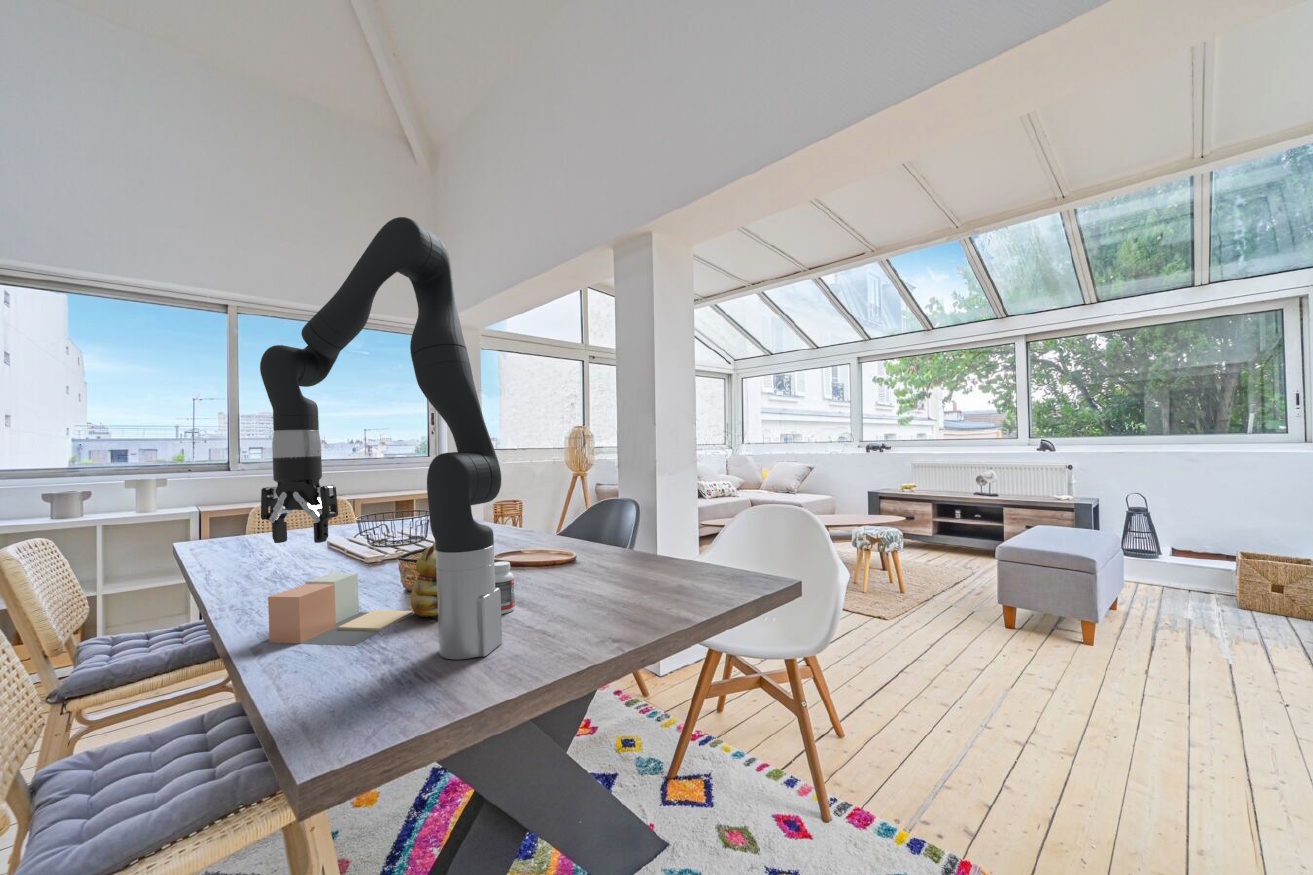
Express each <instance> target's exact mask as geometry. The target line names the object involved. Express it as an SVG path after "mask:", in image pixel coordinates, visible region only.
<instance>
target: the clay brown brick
mask: <svg viewBox="0 0 1313 875" xmlns="http://www.w3.org/2000/svg"><path fill="white" fill-rule="evenodd" d="M267 600H268V601H267V605H268V609H267V610H268V630H269V632H268V633H269V637H268V639H270V642H272V643H271V644H287V643H303V642H305V641H307V640H309V639H311V638H314V637H316V636H318V635H320V634H322V633H324V632H327V631H329V630H331V629H333V628H335V627H336V611H335V584H306V583H304V584H302V585H298V586H296V587H293V588H290V589H287V590H284V591H280V592H277V593H274V594H272V595H269V596H267Z"/></svg>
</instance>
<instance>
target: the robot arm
mask: <svg viewBox="0 0 1313 875" xmlns="http://www.w3.org/2000/svg"><path fill="white" fill-rule="evenodd" d="M396 273H398V274H400V275H402V276H405V277H406V278H408V279H409V281H410V283H411V285H412V287H413V291H414V294H415V298H416V303H417V309H418V312H417V313H418V314H417V319H416V323H415V325H414V328H413V331H412V333H411V338H410V342H409V343H410V347H409V348H410V357H411V358H410V359H411V362H412V365H413V371H414V375H415V379H416V381H417V382H416V383H417V385H418V387H419V389H420V391H421V393H423V395H424V397H425V398H426V399H427V401H428V402H429V403H430V405H431V406H432V407H433V408H434V410H435V411H436V412H437V413H438V415H439V416H440V417H441V419H443V420H444V422H445V423H446V425H447V426H448V428H449V430H450V432H451V435H452V437H453V440H454V443H455V447H456V451H454V452H443V453H440V454H438V455H436V456H435V457H433V459H432V460H431V462H430V464H429V466H428V470H427V474H426V476H427V477H426V492H427V494H426V495H427V502H428V514H429V525H430V530H431V534H432V536H433V538H434V542H435V543H434V544H436V567H437V568H436V571H437V599H438V619H437V620H438V623H437V625H438V626H437V627H438V644H439V646H438V648H439V655H440V657H442V658H444V659H449V660H466V659H473V658H478V657H487V656H488V655H489V654H490V653H492V652H493V651H494V650H495V649H497V647H499V646H500V645H501V644H503V629H502V628H503V625H502V623H503V622H502V614H501V593H500V588H495V565H494V563H495V545H494V544H495V543H494V542H495V541H494V540H495V538H494V531H493V528H492V527H490V526H488V525H485V524H480V523H479V522H477V521H476V520H475V519H474V516H473V511H472V506H476V505H482V504H486V503H490V502H492V501H493V500H494V499H496V498H497V497H498V495H499V494H500V490H501V487H502V471H501V465H500V463H499V460H498V457H497V454H496V451H495V448H494V445H493V443H492V439H491V436H490V433H489V430H488V429H487V425H486V422H485V419H484V416H483V412H482V408H481V407H482V406H481V404H480V402H479V397H478V393H477V391H476V390H477V389H476V384H475V381H474V376H473V370H472V367H471V361H470V359H469V358H470V357H469V353H468V350H467V345H466V343H465V339H464V334H463V331H462V325H461V321H460V317H459V313H458V312H459V311H458V309H457V308H458V307H457V305H456V300H455V299H456V298H455V292H454V284H453V277H452V276H453V275H452V267H451V260H450V255H449V252H448V249H447V246H446V245H445V243H444V242H443V240H442V239H441V238H440V237H438V236H437V235H436V234H435V233H433V232H431V231H430V230H428V229H427V228H426V227H425V226H423V225H421V224H420V223H419V222H417V221H415V220H413V219H411V218H408V217H405V216H399V217H395V218H393V219H391V220H389V221H388V222H386V223H385V224H384V225H383V226H382V227H381V228H380V229H379V231H378V232H377V233H376V234H375V235H374V237H373V238H372V240H371V241H370V243H369V244H368V245H367V247H366V249H365V250H364V252H363V253H362V255H361V256H360V258H359V259H358V261H357V262H356V263H355V265H354V266H353V268H352V270H351V271H350V273H349V274H348V276H347V277H346V279H345V280H344V281H343V283H342V285H341V286H340V287H339V288H338V289H337V291H336V292H335V293H334V294H333V296H332V297H331V298H330V299H329V301H327V302H326V303H325V304H324V305H323V306H322V307H320V309H319V310H318V311H317V312H316V313H315V315H313V316H312V317H311V318H310V320H308V321H307V322H306V323H305V325H304V326H303V327H302V329H301V338H302V340H303V341H304V343H306V345H307V346H306V347H304V348H299V347H295V346H293V347H292V346H288V345H282V344H276V345H272V346H270V347H269V348H267V349H266V350H265V351H264V353H263V354H262V356H261V359H260V361H259V362H260V363H259V371H260V376H261V380H262V382H263V385H264V389H265V391H266V394H267V397H268V401H269V403H270V406H271V408H272V422H273V426H272V428H273V431H272V432H273V433H272V434H273V435H272V444H271V445H272V446H271V449H272V451H271V452H272V472H273V474H272V477H273V479H272V480H273V481H274V482H276V483H277V485H276V486H267V487H262V488H261V490H260V492H261V494H260V519H261V520H263V521H265V520H266V521H269V523H270V524H271V531H272V532H271V534H272V536H271V537H272V540H273V543H275V544H281V543H286V542H287V541H288V525H287V523H288V522H287V521H286V520H287V518H288V516H289V515H290V514H291V513H292V512H293V511H295V510H297V511H304V512H305V513H306V514H308V515H309V516H310V517H311V519H312V520H313V521H314V522H313V540H314V543H316V544H320V543H324V542H327V539H328V538H329V521H330V520H331V519H334V518H336V517H339V516H338V515H339V508H338V498H337V487H336V485H334V484H331V485H330V484H329V485H322V486H321V484H320V480H321V478H322V477H323V465H322V462H323V461H322V442H321V435H320V428H319V427H320V426H319V425H320V423H319V422H320V421H319V408H318V404H317V402H315V401H314V400H312V399H309V398H308V397H306V396H304V395H303V393H302V390H301V387H305V388H308V387H313V386H316V385H318V384H320V383H321V382H323V380H325V379H326V378H327V377H328V375H329V374H330V372H331V370H332V369H333V366H334V364H335V363H336V361H337V359H338V358H339V355H340V354H341V351H343V350H344V349H345V348H347V346H348V345H349V344H350V343H351V342H352V341H354V339H355V338H356V337H357V336H358V335H359V334H360V333H361V331H363V329H364V328H365V326H366V324H367V323H368V320H369V317H370V314H371V312H372V307H373V303H374V300H375V297H376V295H377V292H378V291H379V289H380V288H381V286H382V285H384V283H385V282H386V281H387V280H389V279H390V278H391V277H392V276H393V275H395V274H396Z"/></svg>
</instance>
